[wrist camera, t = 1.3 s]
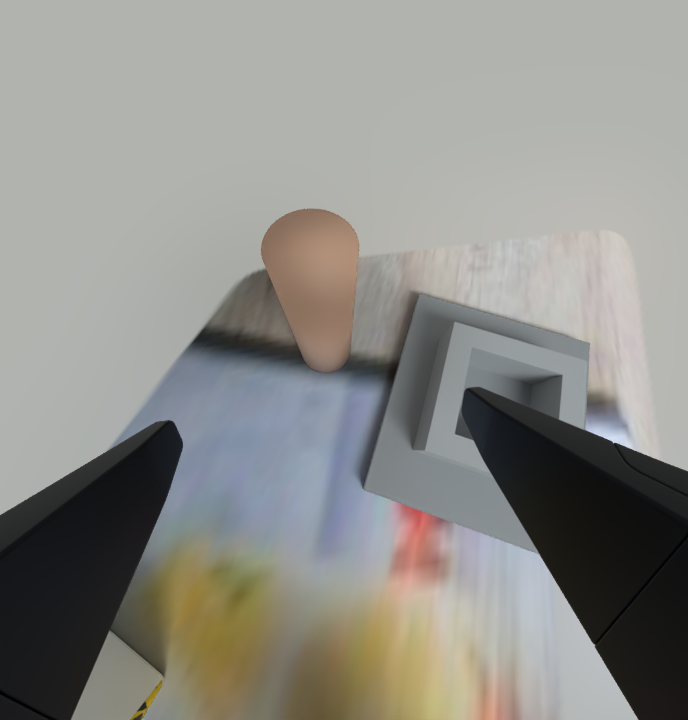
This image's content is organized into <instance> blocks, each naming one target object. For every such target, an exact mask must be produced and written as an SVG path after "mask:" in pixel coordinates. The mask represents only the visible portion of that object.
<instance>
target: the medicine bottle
mask: <svg viewBox="0 0 688 720" xmlns="http://www.w3.org/2000/svg"><path fill="white" fill-rule="evenodd" d="M162 683H163V676H162V674H161V673H160V672H158V671H157V670H156V669H155V668H154V667H153V666H151V665H150V664H149V663H148V662H147V661H145V660H144V659H143V658H142V657H141V656H140V655H138V654H137V653H136V652H135V651H134V650H133V649H131V648H130V647H129V646H128V645H127V644H125V643H124V642H123V641H122V640H121V639H120V638H118V637H117V636H116V635H115V634H114V633H113V632H111V631H109V633H108V635H107V638H106V640H105V642H104V645H103V647H102V649H101V651H100V654H99V656H98V658H97V661H96V663H95V665H94V668H93V670H92V672H91V675H90V677H89V679H88V682H87V684H86V686H85V688H84V691H83V693H82V695H81V698H80V700H79V702H78V705H77V707H76V709H75V712H74V714H73V716H72V719H71V720H142V718H143V717H144V715H145V713H146V712H147V710H148V708H149V707H150V705H151V703H152V701H153V700H154V698H155V696H156V695H157V693H158V691H159V690H160V688H161V686H162Z"/></svg>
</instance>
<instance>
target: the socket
mask: <svg viewBox="0 0 688 720" xmlns="http://www.w3.org/2000/svg"><path fill="white" fill-rule="evenodd" d="M589 349H590V343H588V342H584V341H581V340H578V339H574V338H571V337H567V336H564V335H560V334H557V333H554V332H550V331H547V330H543V329H540V328H536V327H533V326H529V325H526V324H523V323H519V322H516V321H512V320H509V319H505V318H502V317H499V316H495V315H492V314H488V313H485V312H481V311H478V310H475V309H471V308H468V307H464V306H461V305H457V304H454V303H450V302H447V301H444V300H440V299H437V298H433V297H430V296H426V295H423V294H419V296H418V298H417V301H416V304H415V308H414V311H413V315H412V318H411V322H410V325H409V329H408V332H407V335H406V339H405V342H404V346H403V349H402V353H401V356H400V360H399V363H398V367H397V370H396V374H395V377H394V381H393V384H392V388H391V391H390V395H389V398H388V402H387V405H386V409H385V412H384V415H383V419H382V422H381V426H380V429H379V433H378V436H377V440H376V443H375V447H374V450H373V454H372V457H371V461H370V464H369V468H368V471H367V475H366V478H365V482H364V485H363V489H364V490H365V491H368V492H371V493H374V494H376V495H379V496H382V497H385V498H387V499H390V500H393V501H395V502H398V503H401V504H404V505H406V506H409V507H412V508H415V509H417V510H420V511H423V512H425V513H428V514H431V515H434V516H436V517H439V518H442V519H445V520H447V521H450V522H453V523H455V524H458V525H461V526H464V527H466V528H469V529H472V530H474V531H477V532H480V533H483V534H485V535H488V536H491V537H494V538H496V539H499V540H502V541H504V542H507V543H510V544H513V545H515V546H518V547H521V548H524V549H526V550H529V551H532V552H534V553H537V554H539V553H538V551H537V549H536V548H535V546H534V544H533V543H532V541H531V539H530V538H529V536H528V534H527V533H526V531H525V529H524V528H523V526H522V524H521V523H520V521H519V519H518V518H517V516H516V514H515V513H514V511H513V509H512V508H511V506H510V504H509V503H508V501H507V499H506V498H505V496H504V494H503V493H502V491H501V489H500V488H499V486H498V484H497V483H496V481H495V479H494V478H493V476H492V474H491V473H490V471H489V469H488V468H487V466H486V464H485V463H484V461H483V459H482V457H481V455H480V453H479V451H478V449H477V447H476V445H475V442H474V440H473V438H472V436H471V434H470V432H469V429H468V427H467V425H466V423H465V421H464V419H463V416H462V412H461V408H462V401H463V395H464V391H465V389H466V388H469V387H482V388H484V389H486V390H489V391H491V392H494V393H496V394H499V395H501V396H503V397H506V398H508V399H511V400H513V401H515V402H518V403H520V404H523V405H525V406H528V407H530V408H532V409H535V410H537V411H540V412H542V413H545V414H547V415H549V416H552V417H554V418H557V419H559V420H562V421H564V422H566V423H569V424H571V425H574V426H576V427H579V428H581V429H583V430H585V423H586V404H587V386H588V367H589Z"/></svg>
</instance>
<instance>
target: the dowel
mask: <svg viewBox="0 0 688 720" xmlns="http://www.w3.org/2000/svg"><path fill="white" fill-rule="evenodd" d="M261 254H262V259H263V262H264V264H265V267H266V269H267V272H268V274H269V276H270V279H271V281H272V284H273V286H274V289H275V291H276V293H277V296H278V298H279V301H280V303H281V306H282V308H283V310H284V313H285V315H286V318H287V320H288V322H289V325H290V327H291V330H292V332H293V335H294V337H295V339H296V342H297V344H298V347H299V349H300V352H301V354H302V356H303V359H304V361H305V363H306V364H307V365H308V366H309V367H310V368H312V369H313V370H315V371H318V372H322V373H329V372H334V371H336V370H338V369H340V368H341V367H342V366H343V365H344V364H345V363H346V362H347V360H348V358H349V355H350V347H351V335H352V324H353V313H354V302H355V290H356V279H357V268H358V256H359V242H358V238H357V235H356V233H355V231H354V229H353V228H352V226H351V225H350V224H349V223H348V222H347V221H346V220H345V219H343V218H342V217H340V216H339V215H336V214H334V213H332V212H329V211H326V210H321V209H302V210H297V211H294V212H291V213H289V214H286V215H285V216H283V217H281V218H279V219H278V220H277V221H276V222H275V223H273V224H272V225H271V226H270V228H269V229H268V230H267V232H266V234H265V236H264V238H263V241H262V247H261Z"/></svg>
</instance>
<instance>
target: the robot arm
mask: <svg viewBox="0 0 688 720" xmlns="http://www.w3.org/2000/svg"><path fill="white" fill-rule="evenodd" d="M461 412H462V416H463V419H464V421H465V423H466V425H467V427H468V429H469V432H470V434H471V436H472V438H473V440H474V442H475V445H476V447H477V449H478V451H479V453H480V455H481V457H482V459H483V461H484V463H485V464H486V466H487V468H488V469H489V471H490V473H491V474H492V476H493V478H494V479H495V481H496V483H497V484H498V486H499V488H500V489H501V491H502V493H503V494H504V496H505V498H506V499H507V501H508V503H509V504H510V506H511V508H512V509H513V511H514V513H515V514H516V516H517V518H518V519H519V521H520V523H521V524H522V526H523V528H524V529H525V531H526V533H527V534H528V536H529V538H530V539H531V541H532V543H533V544H534V546H535V548H536V549H537V551H538V553H539V554H540V556H541V558H542V559H543V561H544V563H545V564H546V566H547V568H548V569H549V571H550V573H551V574H552V576H553V578H554V579H555V581H556V583H557V584H558V586H559V588H560V589H561V591H562V593H563V594H564V596H565V598H566V599H567V601H568V603H569V604H570V606H571V608H572V609H573V611H574V613H575V614H576V616H577V618H578V619H579V621H580V623H581V624H582V626H583V628H584V629H585V631H586V633H587V634H588V636H589V638H590V639H591V641H592V642H593V644H595V648H596V650H597V651H598V653H599V655H600V656H601V658H602V660H603V661H604V663H605V665H606V666H607V668H608V670H609V671H610V673H611V675H612V676H613V678H614V680H615V681H616V683H617V685H618V686H619V688H620V690H621V691H622V693H623V695H624V696H625V698H626V700H627V701H628V703H629V705H630V706H631V708H632V710H633V711H634V713H635V715H636V716H637V718H638V720H688V471H686V470H683V469H680V468H678V467H675V466H672V465H670V464H667V463H664V462H662V461H659V460H657V459H654V458H652V457H649V456H647V455H644V454H642V453H639V452H637V451H634V450H632V449H630V448H627V447H625V446H622V445H620V444H618V443H613V442H612V441H610V440H608V439H605V438H603V437H600V436H598V435H595V434H593V433H591V432H588V431H586V430H583V429H581V428H579V427H576V426H574V425H571V424H569V423H566V422H564V421H562V420H559V419H557V418H554V417H552V416H549V415H547V414H545V413H542V412H540V411H537V410H535V409H532V408H530V407H528V406H525V405H523V404H520V403H518V402H515V401H513V400H511V399H508V398H506V397H503V396H501V395H499V394H496V393H494V392H491V391H489V390H486V389H484V388H482V387H469V388H466V389H465V391H464V395H463V401H462V408H461ZM182 449H183V441H182V438H181V436H180V434H179V432H178V430H177V427H176V425H175V423H174V422H173V421H170V420H168V421H159V422H155V423H154V424H152V425H150V426H149V427H147V428H145V429H144V430H142V431H140V432H139V433H137V434H135V435H134V436H132V437H130V438H129V439H127V440H125V441H124V442H122V443H120V444H119V445H117V446H115V447H113V448H112V449H110V450H108V451H107V452H105V453H103V454H102V455H100V456H98V457H97V458H95V459H93V460H92V461H90V462H88V463H87V464H85V465H83V466H82V467H80V468H78V469H77V470H75V471H74V472H72V473H70V474H69V475H67V476H65V477H63V478H62V479H60V480H58V481H57V482H55V483H53V484H52V485H50V486H48V487H47V488H45V489H43V490H42V491H40V492H38V493H37V494H35V495H33V496H32V497H30V498H28V499H27V500H25V501H23V502H22V503H20V504H18V505H17V506H15V507H14V508H12V509H10V510H8V511H6V512H5V513H3V514H1V515H0V720H71V719H72V716H73V714H74V712H75V709H76V707H77V705H78V702H79V700H80V698H81V695H82V693H83V691H84V688H85V686H86V684H87V682H88V679H89V677H90V675H91V672H92V670H93V668H94V665H95V663H96V661H97V658H98V656H99V654H100V651H101V649H102V647H103V645H104V642H105V640H106V638H107V635H108V633H109V631H110V628H111V626H112V624H113V621H114V619H115V617H116V614H117V612H118V610H119V608H120V605H121V603H122V601H123V598H124V596H125V594H126V591H127V589H128V587H129V584H130V582H131V580H132V577H133V575H134V573H135V570H136V568H137V566H138V564H139V561H140V559H141V557H142V554H143V552H144V550H145V547H146V545H147V543H148V540H149V538H150V536H151V533H152V531H153V529H154V527H155V524H156V522H157V520H158V517H159V515H160V513H161V510H162V508H163V506H164V503H165V501H166V498H167V496H168V493H169V490H170V487H171V484H172V481H173V477H174V474H175V471H176V468H177V465H178V462H179V458H180V455H181V452H182Z"/></svg>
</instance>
